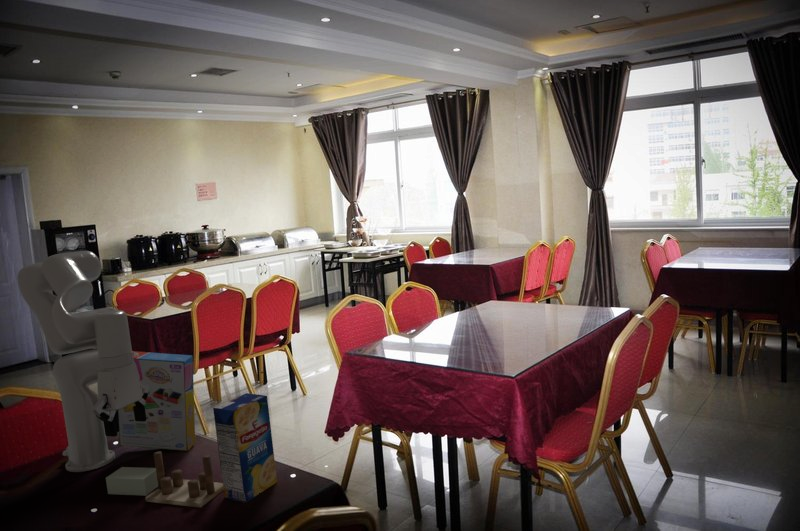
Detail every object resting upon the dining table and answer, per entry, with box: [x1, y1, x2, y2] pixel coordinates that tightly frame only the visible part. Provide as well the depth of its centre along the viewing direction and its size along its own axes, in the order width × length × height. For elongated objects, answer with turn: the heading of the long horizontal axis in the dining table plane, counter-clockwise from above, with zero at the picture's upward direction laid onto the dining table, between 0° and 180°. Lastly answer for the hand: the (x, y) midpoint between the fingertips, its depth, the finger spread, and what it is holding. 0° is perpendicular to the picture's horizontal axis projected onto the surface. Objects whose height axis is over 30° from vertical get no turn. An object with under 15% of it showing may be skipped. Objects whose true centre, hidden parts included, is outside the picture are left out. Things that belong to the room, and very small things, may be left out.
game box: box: [117, 350, 196, 452], centre depth 178 cm, size 21×6×27 cm, turn 85°
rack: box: [145, 450, 224, 508], centre depth 150 cm, size 16×10×10 cm, turn 70°
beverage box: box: [212, 392, 278, 503], centre depth 149 cm, size 7×11×22 cm, turn 149°
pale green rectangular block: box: [105, 466, 158, 497], centre depth 156 cm, size 11×6×4 cm, turn 76°
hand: (126, 428), depth 154 cm, fingers open, 9 cm apart
